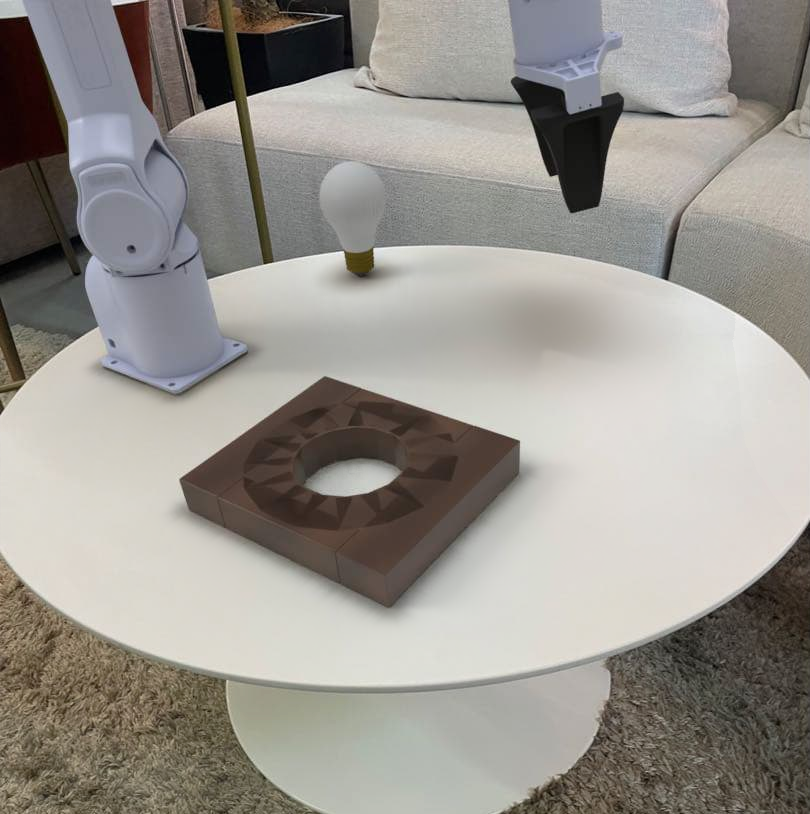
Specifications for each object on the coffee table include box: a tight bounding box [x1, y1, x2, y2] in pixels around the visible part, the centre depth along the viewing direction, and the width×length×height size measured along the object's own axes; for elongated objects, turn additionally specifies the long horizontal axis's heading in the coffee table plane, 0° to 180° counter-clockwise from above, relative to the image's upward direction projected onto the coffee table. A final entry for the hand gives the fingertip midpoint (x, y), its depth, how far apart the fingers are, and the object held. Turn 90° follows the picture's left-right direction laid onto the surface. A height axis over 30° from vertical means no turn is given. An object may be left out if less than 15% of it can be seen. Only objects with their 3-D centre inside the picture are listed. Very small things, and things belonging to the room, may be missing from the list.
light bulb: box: [319, 160, 387, 277], centre depth 73 cm, size 6×6×10 cm
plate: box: [178, 375, 521, 608], centre depth 51 cm, size 16×14×2 cm
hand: (572, 189), depth 59 cm, fingers open, 7 cm apart
